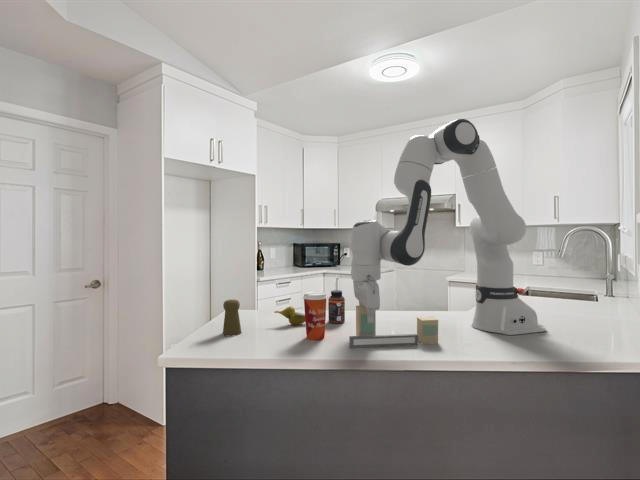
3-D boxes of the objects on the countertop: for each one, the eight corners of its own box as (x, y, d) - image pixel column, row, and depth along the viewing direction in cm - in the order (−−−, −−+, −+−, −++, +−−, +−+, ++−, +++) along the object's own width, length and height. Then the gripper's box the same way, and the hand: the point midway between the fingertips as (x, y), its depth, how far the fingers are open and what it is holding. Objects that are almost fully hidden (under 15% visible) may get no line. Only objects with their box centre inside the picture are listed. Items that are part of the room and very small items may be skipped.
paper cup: (309, 342, 112) (309, 296, 111) (299, 336, 119) (298, 292, 118) (332, 338, 115) (332, 293, 115) (321, 332, 122) (320, 290, 122)
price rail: (416, 343, 110) (416, 333, 110) (418, 345, 108) (418, 335, 108) (349, 346, 108) (349, 336, 108) (350, 348, 107) (350, 337, 107)
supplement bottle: (343, 324, 132) (343, 292, 132) (327, 323, 133) (326, 292, 133) (345, 320, 138) (345, 289, 138) (330, 319, 139) (329, 289, 139)
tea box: (432, 339, 114) (432, 316, 114) (438, 343, 110) (438, 320, 110) (417, 339, 114) (416, 317, 113) (421, 344, 110) (421, 320, 109)
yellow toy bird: (274, 324, 134) (273, 306, 133) (315, 322, 136) (315, 304, 135) (274, 327, 129) (274, 308, 129) (317, 325, 131) (317, 306, 131)
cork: (245, 331, 124) (244, 299, 124) (233, 336, 119) (233, 302, 118) (230, 329, 127) (229, 297, 126) (218, 334, 121) (218, 301, 121)
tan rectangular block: (356, 337, 117) (355, 305, 116) (371, 336, 117) (371, 305, 117) (359, 342, 112) (359, 309, 111) (375, 341, 112) (375, 308, 112)
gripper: (385, 277, 104) (385, 327, 104) (368, 269, 124) (369, 310, 125) (362, 278, 103) (363, 328, 104) (350, 269, 123) (350, 311, 124)
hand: (366, 318), depth 114 cm, fingers open, 8 cm apart
